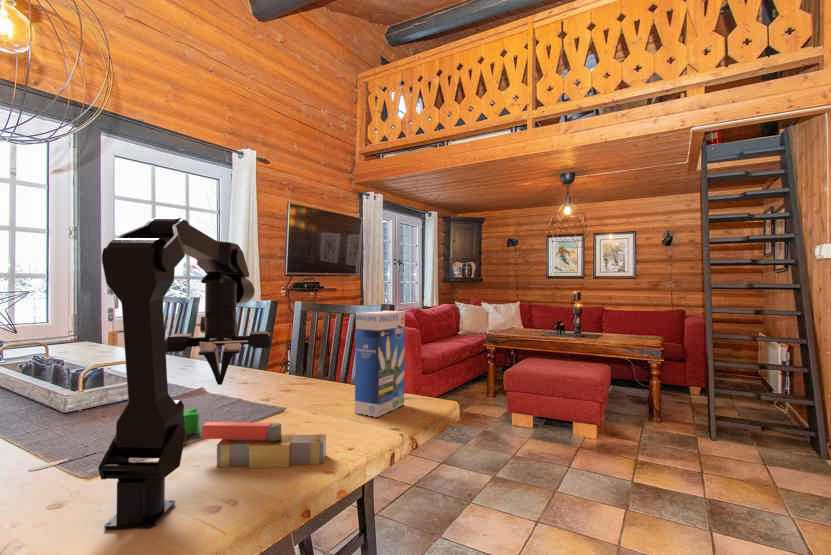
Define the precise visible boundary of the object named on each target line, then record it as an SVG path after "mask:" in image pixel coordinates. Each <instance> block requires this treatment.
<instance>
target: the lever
mask: <svg viewBox="0 0 831 555" xmlns="http://www.w3.org/2000/svg"><path fill="white" fill-rule="evenodd" d="M201 425H202V426H201V430H202V431H201V439H202V440H207V439H208V440H222V439H266V440H267V441H276V440H279V439H281V434H282V423H280V422H238V421H237V422H235V421H232V422H231V421H230V422H229V421H227V422H226V421H223V422H222V421H220V422H219V421H213V422H212V421H206V422H205V423H204V424H201Z"/></svg>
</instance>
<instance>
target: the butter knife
mask: <svg viewBox="0 0 831 555" xmlns="http://www.w3.org/2000/svg"><path fill="white" fill-rule="evenodd" d="M69 458H70V457H68V459H69ZM64 459H65V460H63V459H61V460H60V459H59V460H60V461H59V460H55V461H56V462H55V461H52V462H48V463H43V464H41V465H40V464H39V465H36V466H34V467H31V468H28V469H27V470H28V472H33V471H34V472H35V471H39V470H43V469H47V468H51V467H55V466H58V465H57V464H59V463H60V462H63V461H66V460H68V459H67V458H64ZM59 465H60V464H59Z"/></svg>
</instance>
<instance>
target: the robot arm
mask: <svg viewBox="0 0 831 555" xmlns="http://www.w3.org/2000/svg"><path fill="white" fill-rule="evenodd" d="M101 252H102V253H101V262H102V263H101V264H102V269H103V272H104V279H105V283H106V285H107V286H108V288H109V289H110V290H111V291H112V293H113V294H114V295H115V296H116V297H117V299H118V300H119V302H120V303H121V313H122V316H121V317H122V327H123V329H122V330H123V342H124V358H125V372H126V373H125V374H126V386H127V387H126V388H127V389H126V390H127V404H126V406H124V409H123V410H122V412H121V414H120V415H119V417H118V418H117V420H116V422H115V435H114V437H113V439H112V441H111V443H110V444H109V447H108V448H107V449H108V450H107V451H105V454H104V456H103V458H102V460H101V462H100V463H99V465H98V468H97V470H98V473H99V477H100V479H101V480H117V482H116V514H115V515H113V517H111V518H110V519H109V520H108V521H107V522H106V523H104V524H103V526H104V527H103V528H104V529H105V530H118V529H120V530H122V529H140V528H141V529H144V528H145V529H146V528H153V527H155V526H156V525H157V524H158V523H159V522H160V521H161V519H162V518H164V516H165V515H167V513H168V512H169V511H170V510H171V508H173V506H174V505H175V503H176V500H175V499H165V498H166V496H165V494H166V493H165V492H166V491H165V490H166V478H167V477H169V475H170V474H171V473H173V472H174V471H175V470H177V469H178V468H179V467H180V466H181V462H182V456H183V451H184V446H185V445H184V444H185V441H186V438H185V427H184V426H185V421H184V412H185V410H184V409H185V404H184V403H183V400H182V399H181V400H180V399H173V398H172V396H170V394H169V389H168V387H169V386H168V371H167V370H168V369H167V356H166V355H167V353H179V352H182V353H183V351H185V350H186V349H187V348H188V347H189V348H194V347H195V348H196V347H198V349H199V351H198V356H204V358H205V359H206V361H207V363H208V366H210V369H211V371H212V373H213V376H214V379H215V381H216V382H215V383H217V384H216V385H217V386H221V385H223V383H224V380H225V377H226V374H227V371H228V368H229V365H230V363H231V361H232V359H233V356H234V355H236V354H240V353H241V347H242V346H243V345H249V346H250V347H251V348H253V349H270V348H271V334H270V332H268V331H267V330H263V331H261V330H259V331H249V335H238V321H237V305H239V304H240V305H241V304H245V303H248V302H250V301H251V300H252V299H253V297H254V296H255V295H254V294H255V287H254V284H253V283H252V282H251V281H250V280H249V279H248V278H249V277H250V272H249V269H248V266H247V262H246V258H245V254H244V251H243V250H242V248H241V246H239V245H238V243H234V242H228V241H219V240H216V239H214V238H213V237H211V236H209V235H207V234H206V233H204V232H202V231H201V230H199V229H197V228H196V227H194V226H192V225H191V224H189V221H188V220H186V219H183V218H182V217H155V218H153V219H152V218H151V219H150V220H149V221H147V222H146V223H145V224H144V225H142V226H139V227H137V228H134V229H132V230H130V231H128V232H125V233H122V234H120V235H119V236H118V237H117V238H114V239H112V240H111V241H110V242H108V244H107V245H106V246H105V247H104V248H103V249H102V251H101ZM186 256H188V257H190V258H193V259H195V260H196V265H197V266H198V267H199V268H200V269H201V270H203V271H204V273H205V274H206V275H204V276H203V277H202V278H201V280H200V282H201V283H202V284H205V289H204V290H205V291H204V292H205V293H204V294H205V295H204V299H205V300H204V316H201V317H200V321H199V322H200V324H199V325H200V326H199V328H200V329H199V331H200V333H202V334H204V336H193V333H190V332H189V333H172V334H171V335H169V336H167V338H166V336H165V335H166V334H165V318H164V298H165V297H166V294H167V293H168V291H169V289H171V286H172V285H173V283H174V282H175V269H176V267H177V266H178V265H179V264H180V262H181V261H182V260H183V259H184V257H186ZM219 346H224V347H225V348H224V349H223V351H222V359H221V366H220V361H219V360H220V359H219ZM130 459H158V460H157V461H153V460H152V461H148V460H147V461H146V460H145V461H142V460H139V461H137V460H135V461H134V460H133V461H132V460H131V461H130Z"/></svg>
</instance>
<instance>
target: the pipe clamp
mask: <svg viewBox="0 0 831 555" xmlns="http://www.w3.org/2000/svg"><path fill="white" fill-rule="evenodd" d="M199 420H200V413H199V412H197V408H190V409H187V410H186V411H185V410H184V421H185V426H184V427H185V439H186V436H187V435H186V434H189V435H192V434H191V433H197V434H199V433H198V432H200V431H199V429H200V428H199V427H200V426H199V424H200V422H199Z"/></svg>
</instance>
